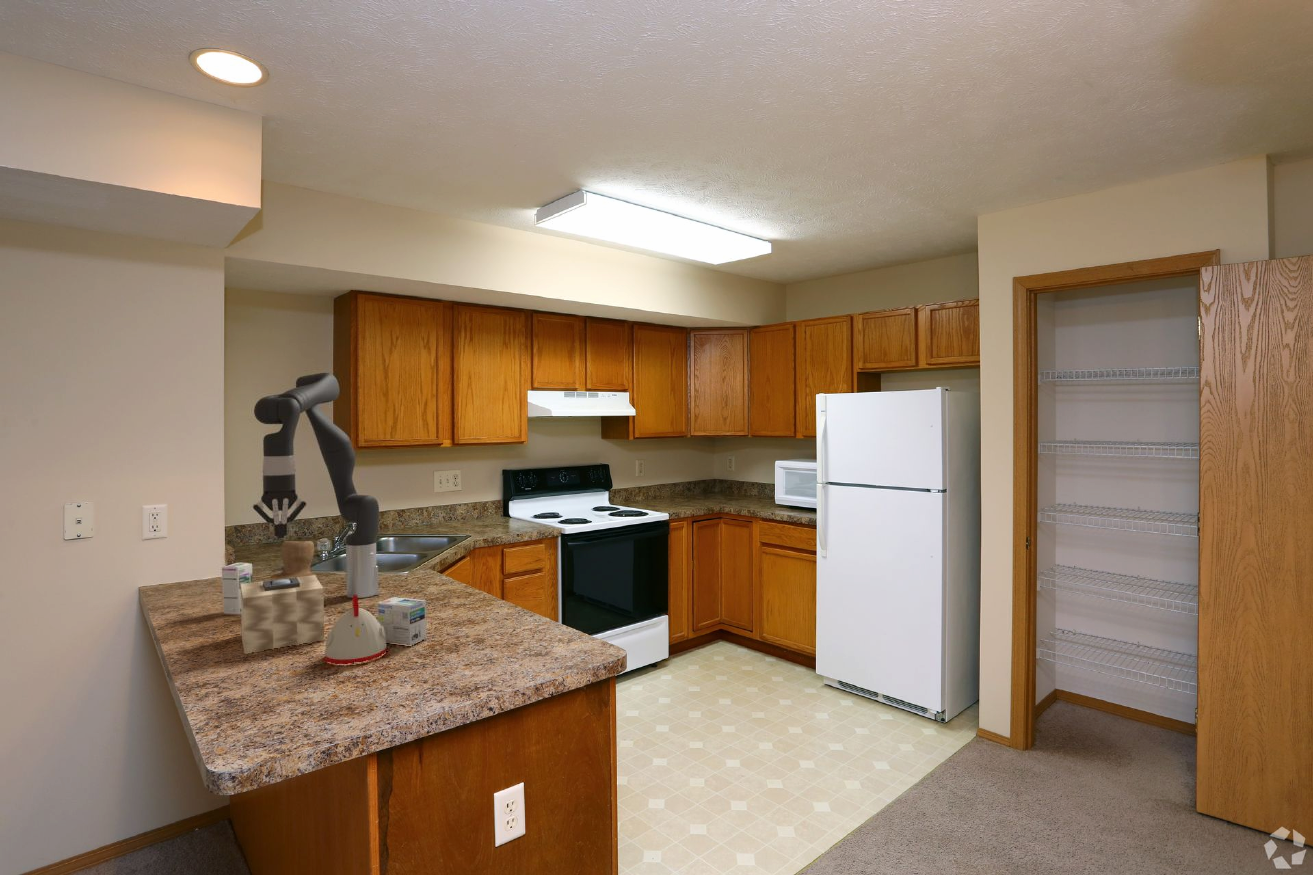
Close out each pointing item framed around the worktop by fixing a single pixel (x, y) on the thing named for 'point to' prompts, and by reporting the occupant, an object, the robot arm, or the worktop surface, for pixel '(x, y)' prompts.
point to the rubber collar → (292, 584)
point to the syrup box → (234, 585)
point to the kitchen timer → (355, 637)
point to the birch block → (281, 615)
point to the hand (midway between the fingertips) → (280, 537)
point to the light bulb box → (403, 620)
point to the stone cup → (296, 559)
